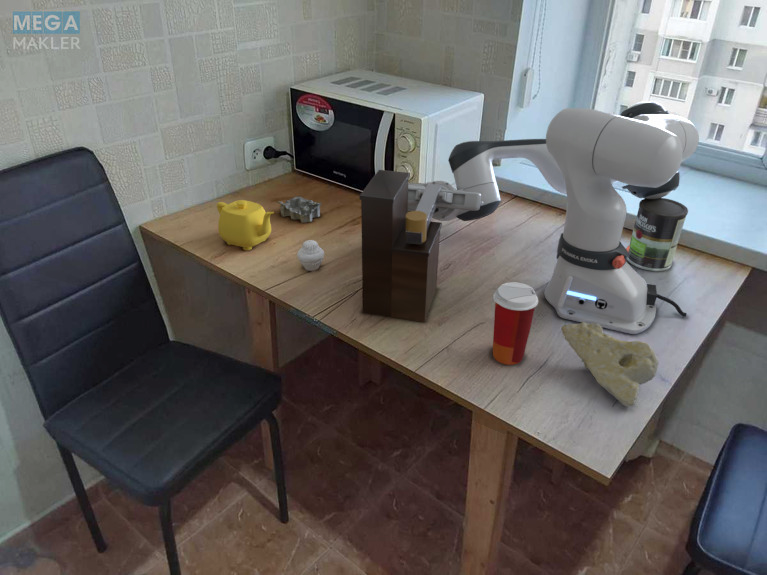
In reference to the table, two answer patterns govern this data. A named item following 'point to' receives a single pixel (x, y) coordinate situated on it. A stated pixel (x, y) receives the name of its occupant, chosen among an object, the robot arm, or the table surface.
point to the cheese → (613, 360)
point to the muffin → (310, 255)
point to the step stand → (395, 252)
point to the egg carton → (300, 209)
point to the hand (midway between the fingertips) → (431, 195)
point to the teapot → (243, 223)
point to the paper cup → (512, 321)
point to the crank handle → (422, 215)
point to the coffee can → (656, 233)
